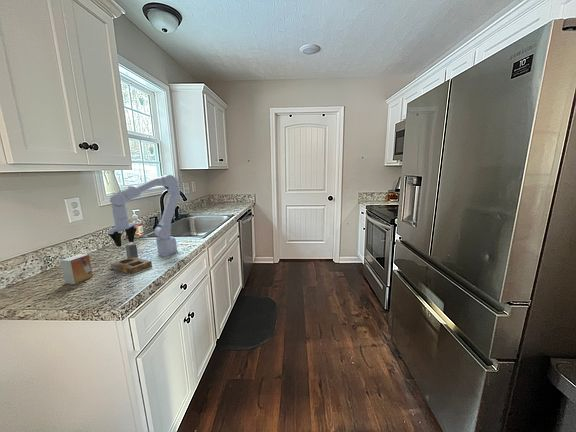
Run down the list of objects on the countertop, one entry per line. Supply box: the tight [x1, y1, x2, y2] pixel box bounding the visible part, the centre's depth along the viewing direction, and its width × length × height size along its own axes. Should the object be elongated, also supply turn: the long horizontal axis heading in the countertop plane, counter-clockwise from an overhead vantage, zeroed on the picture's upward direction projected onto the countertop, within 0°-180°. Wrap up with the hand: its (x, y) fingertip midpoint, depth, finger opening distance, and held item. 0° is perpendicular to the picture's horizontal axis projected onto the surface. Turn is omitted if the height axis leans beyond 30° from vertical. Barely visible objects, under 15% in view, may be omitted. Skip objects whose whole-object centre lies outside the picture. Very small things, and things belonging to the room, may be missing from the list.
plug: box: [125, 242, 139, 258], centre depth 128 cm, size 4×4×8 cm
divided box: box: [110, 257, 153, 276], centre depth 116 cm, size 10×16×3 cm, turn 62°
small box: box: [59, 253, 94, 285], centre depth 105 cm, size 8×6×10 cm
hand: (125, 244), depth 123 cm, fingers open, 7 cm apart
